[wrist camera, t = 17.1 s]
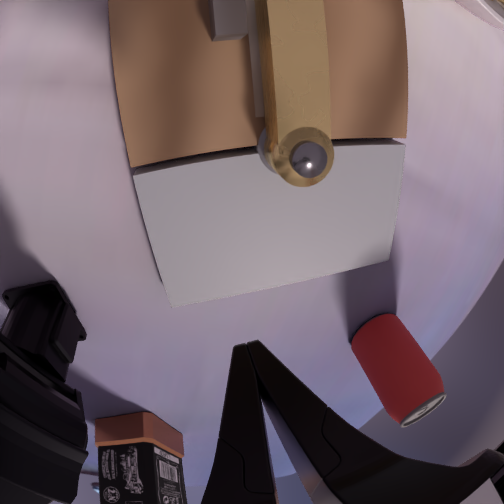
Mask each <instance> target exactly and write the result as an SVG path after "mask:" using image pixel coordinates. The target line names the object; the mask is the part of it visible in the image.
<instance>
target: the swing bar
mask: <svg viewBox="0 0 504 504" xmlns="http://www.w3.org/2000/svg"><path fill="white" fill-rule="evenodd" d="M254 2H255V12H256V22H257V32H258V42H259V53H260V64H261V76H262V88H263V100H264V113H265V126H266V139H265V143H264V155H265V159H266V161H267V163H268V164H269V165H270V167H271V168H272V169H274V170H275V171H276V172H277V173H278V174H279V175H280V176H281V177H282V178H283V179H284V180H285V181H286V182H287V183H289V184H291V185H293V186H297V187H309V186H312V185H315V184H317V183H319V182H320V181H321V180H323V179H324V178H325V177H326V176H327V174H328V173H329V172H330V170H331V168H332V165H333V162H334V148H333V144H332V142H331V104H330V78H329V60H328V46H327V34H326V23H325V13H324V4H323V0H254Z"/></svg>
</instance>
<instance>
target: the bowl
mask: <svg viewBox="0 0 504 504" xmlns="http://www.w3.org/2000/svg"><path fill="white" fill-rule="evenodd" d="M455 1H456V2H457V3H459V4H460V5H461V6H463V7H464V8H465V9H467V10H468V11H469V12H471V13H472V14H474V15H475V16H477V17H478V18H480V19H481V20H483V21H485V22H486V23H488V24H490V25H492V26H494V27H496V28H498V29H500V30H503V31H504V0H455Z"/></svg>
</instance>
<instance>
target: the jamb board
mask: <svg viewBox="0 0 504 504" xmlns="http://www.w3.org/2000/svg"><path fill="white" fill-rule="evenodd" d="M265 139H266V127H265V128H264V130H263V131H262V133H261V135H260V138H259V142H258V145H256V146H253V148H250V149H242V150H235V151H228V152H221V153H215V154H209V155H203V156H197V157H191V158H186V159H180V160H175V161H170V162H165V163H160V164H156V165H151V166H146V167H142V168H138V169H136V171H135V173H134V175H133V179H134V183H135V187H136V191H137V195H138V199H139V203H140V207H141V211H142V215H143V219H144V222H145V226H146V229H147V233H148V236H149V240H150V243H151V247H152V250H153V253H154V257H155V260H156V263H157V266H158V269H159V273H160V276H161V279H162V282H163V285H164V288H165V291H166V294H167V297H168V299H169V302H170V305H171V308H173V307H178V306H184V305H189V304H195V303H200V302H205V301H210V300H215V299H221V298H226V297H231V296H236V295H241V294H245V293H250V292H255V291H260V290H264V289H269V288H274V287H278V286H283V285H288V284H292V283H297V282H301V281H305V280H310V279H314V278H318V277H323V276H327V275H331V274H335V273H340V272H344V271H348V270H352V269H356V268H360V267H364V266H368V265H372V264H376V263H380V262H384V261H387V260H389V255H390V250H391V245H392V240H393V235H394V230H395V224H396V219H397V213H398V206H399V200H400V193H401V185H402V177H403V168H404V158H405V147H406V145H405V144H403V143H400V142H398V141H395V140H346V141H331V142H332V144H333V148H334V162H333V165H332V168H331V170H330V172H329V173H328V174H327V176H326V177H325V178H324V179H323V180H321V181H320V182H319V183H317V184H315V185H312V186H309V187H297V186H293V185H291V184H289V183H287V182H286V181H285V180H284V179H283V178H282V177H281V176H280V175H279V174H278V173H277V172H276V171H275V170H274V169H272V168H271V167H270V165H269V164H268V163H267V161H266V159H265V155H264V143H265Z"/></svg>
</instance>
